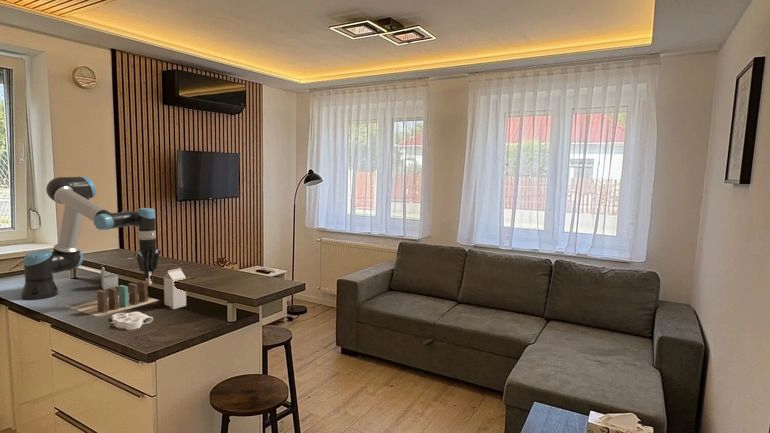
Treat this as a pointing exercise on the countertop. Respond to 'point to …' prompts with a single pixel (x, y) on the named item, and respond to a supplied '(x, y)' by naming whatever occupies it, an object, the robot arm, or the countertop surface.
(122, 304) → the domino
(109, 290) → the domino
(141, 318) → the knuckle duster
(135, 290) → the domino
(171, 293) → the milk carton
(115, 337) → the countertop surface
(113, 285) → the supplement box
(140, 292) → the domino
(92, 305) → the birch board
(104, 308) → the domino
